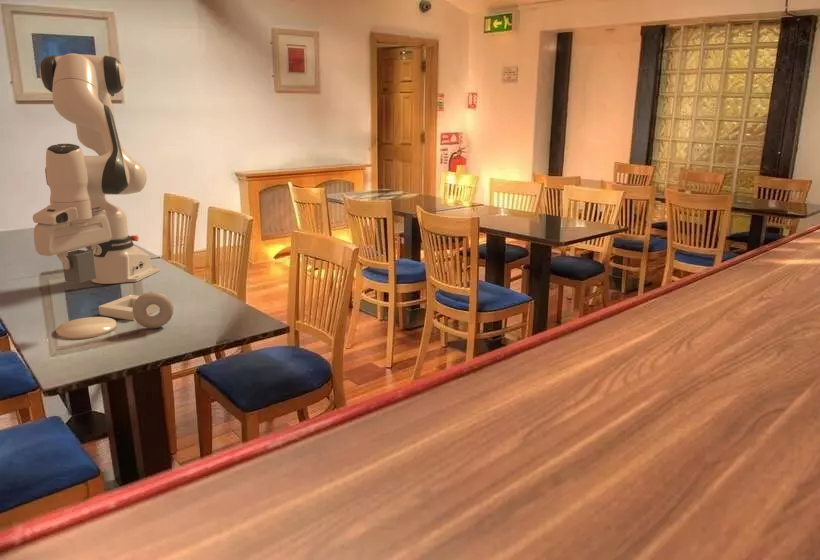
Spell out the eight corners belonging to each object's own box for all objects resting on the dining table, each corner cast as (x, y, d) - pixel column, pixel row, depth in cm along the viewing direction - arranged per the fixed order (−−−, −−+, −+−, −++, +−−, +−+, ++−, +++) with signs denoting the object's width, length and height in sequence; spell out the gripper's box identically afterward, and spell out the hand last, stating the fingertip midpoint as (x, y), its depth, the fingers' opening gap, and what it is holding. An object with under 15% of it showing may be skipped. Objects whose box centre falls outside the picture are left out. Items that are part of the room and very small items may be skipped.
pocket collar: (131, 302, 187) (130, 294, 187) (164, 307, 183) (163, 299, 183) (99, 314, 176) (98, 306, 176) (133, 320, 172) (132, 311, 172)
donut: (134, 332, 164) (130, 295, 161) (134, 328, 167) (130, 291, 164) (175, 327, 168) (172, 291, 165) (174, 323, 171) (171, 288, 168)
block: (81, 276, 165) (77, 249, 163) (96, 278, 163) (92, 251, 161) (65, 280, 160) (61, 253, 158) (80, 283, 159) (76, 255, 157)
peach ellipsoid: (88, 317, 174) (87, 314, 174) (128, 324, 169) (128, 320, 169) (43, 334, 161) (43, 330, 161) (85, 342, 157) (85, 338, 157)
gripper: (95, 204, 167) (101, 255, 171) (26, 216, 149) (34, 273, 153) (114, 206, 165) (119, 258, 169) (46, 219, 147) (54, 276, 151)
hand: (78, 265), depth 161 cm, fingers closed on block, 5 cm apart
